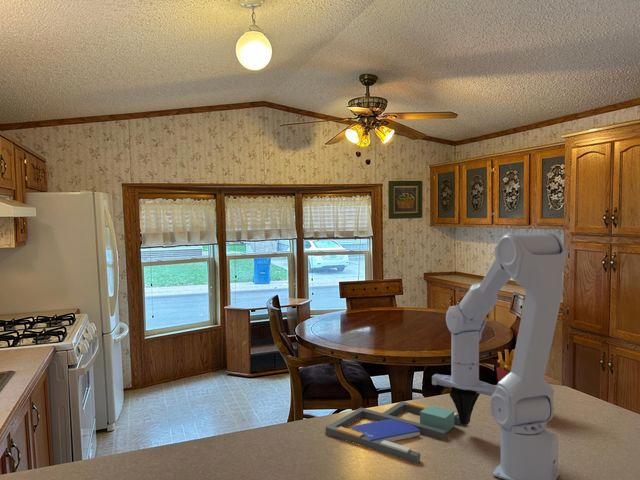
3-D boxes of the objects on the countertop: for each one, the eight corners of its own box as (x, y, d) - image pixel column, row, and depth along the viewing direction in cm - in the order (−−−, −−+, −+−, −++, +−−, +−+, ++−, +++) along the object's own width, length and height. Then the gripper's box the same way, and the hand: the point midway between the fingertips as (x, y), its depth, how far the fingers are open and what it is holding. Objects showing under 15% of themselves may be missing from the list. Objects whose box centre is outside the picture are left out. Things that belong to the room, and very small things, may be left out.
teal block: (454, 426, 109) (454, 410, 108) (445, 433, 105) (445, 418, 104) (429, 419, 112) (429, 404, 112) (420, 427, 108) (420, 411, 108)
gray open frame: (446, 437, 103) (446, 428, 103) (416, 463, 92) (416, 454, 92) (360, 413, 116) (360, 405, 116) (325, 433, 105) (325, 425, 105)
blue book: (370, 439, 98) (420, 429, 104) (351, 425, 106) (398, 416, 111) (370, 446, 98) (420, 436, 104) (351, 432, 106) (398, 423, 111)
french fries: (515, 416, 113) (515, 353, 113) (490, 404, 121) (490, 345, 121) (543, 410, 117) (543, 349, 116) (517, 399, 124) (518, 342, 124)
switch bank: (463, 422, 110) (463, 414, 110) (446, 437, 103) (446, 428, 103) (401, 407, 120) (401, 399, 120) (382, 419, 113) (382, 411, 113)
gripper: (505, 362, 102) (504, 425, 103) (441, 351, 111) (441, 409, 112) (494, 371, 97) (493, 437, 98) (427, 358, 106) (427, 419, 106)
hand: (464, 423), depth 104 cm, fingers closed
